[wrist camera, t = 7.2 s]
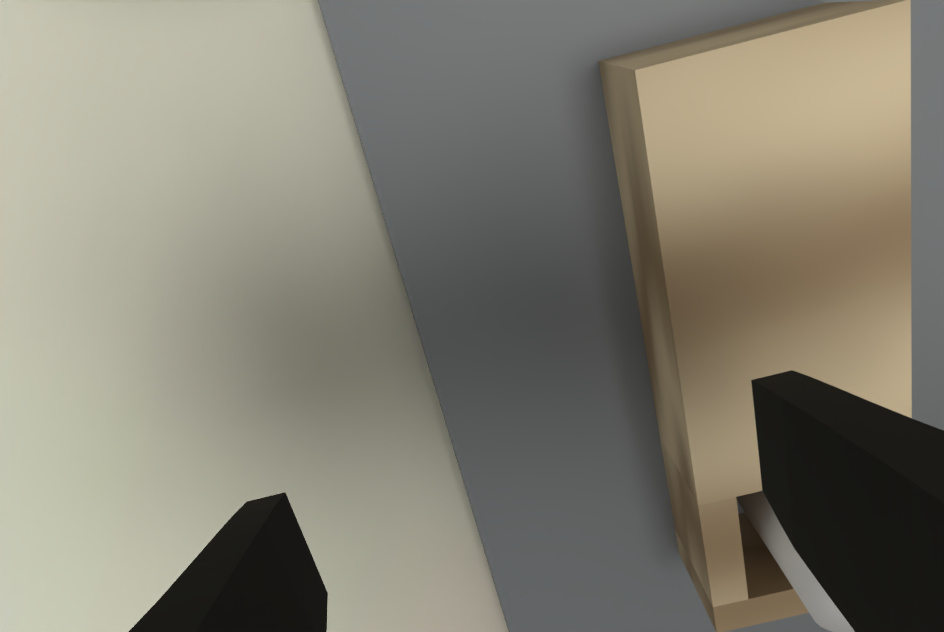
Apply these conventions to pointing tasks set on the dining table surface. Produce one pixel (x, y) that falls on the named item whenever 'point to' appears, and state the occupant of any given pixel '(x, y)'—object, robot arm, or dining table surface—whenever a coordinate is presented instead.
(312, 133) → the dining table surface
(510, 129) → the slate board
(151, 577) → the dining table surface
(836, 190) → the oak link
